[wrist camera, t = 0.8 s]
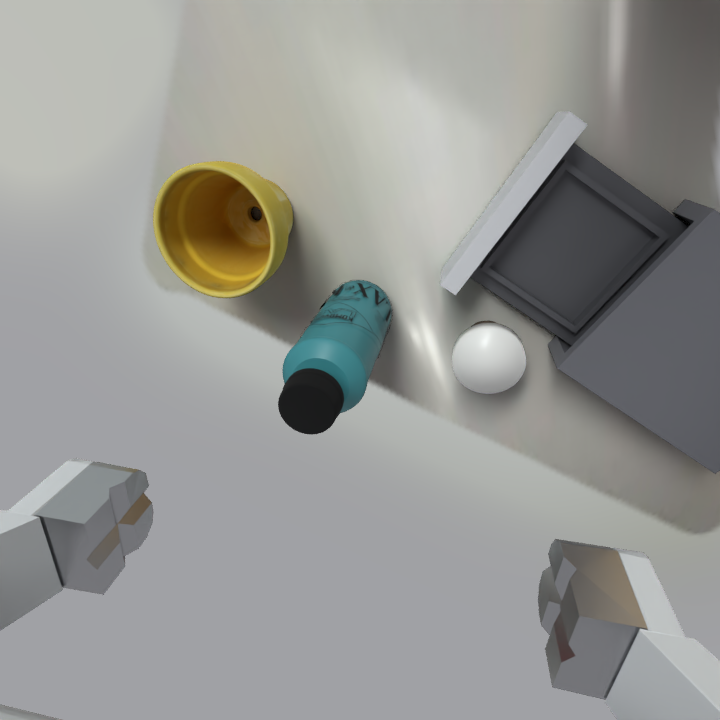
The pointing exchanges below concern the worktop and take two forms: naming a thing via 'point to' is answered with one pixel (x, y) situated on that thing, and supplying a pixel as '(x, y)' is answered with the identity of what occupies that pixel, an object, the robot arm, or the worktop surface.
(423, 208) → the worktop surface
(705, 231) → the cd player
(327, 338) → the beverage bottle
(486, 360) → the disc
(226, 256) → the plant pot
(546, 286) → the tray
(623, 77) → the worktop surface
